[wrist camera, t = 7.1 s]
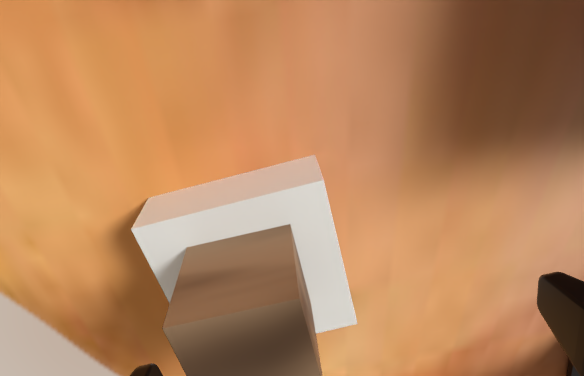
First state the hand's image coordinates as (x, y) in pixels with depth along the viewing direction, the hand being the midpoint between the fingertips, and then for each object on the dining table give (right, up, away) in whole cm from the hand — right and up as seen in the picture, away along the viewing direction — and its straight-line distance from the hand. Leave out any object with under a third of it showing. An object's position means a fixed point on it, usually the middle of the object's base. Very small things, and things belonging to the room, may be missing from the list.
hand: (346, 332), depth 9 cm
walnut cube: (-3, -1, +10) cm, 11 cm away
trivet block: (-3, 0, +14) cm, 14 cm away
